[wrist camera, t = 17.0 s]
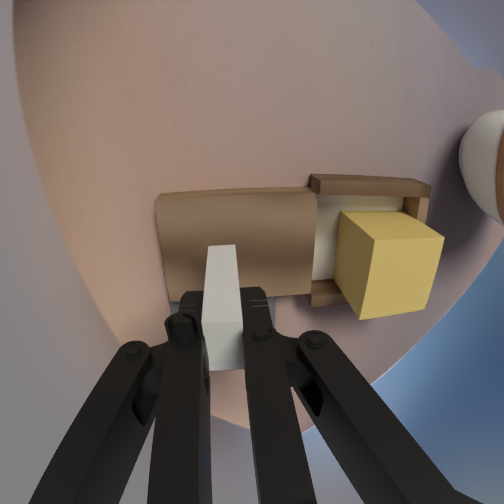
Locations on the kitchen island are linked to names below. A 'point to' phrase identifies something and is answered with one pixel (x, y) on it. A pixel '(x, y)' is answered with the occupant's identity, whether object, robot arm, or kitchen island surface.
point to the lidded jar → (485, 163)
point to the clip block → (385, 262)
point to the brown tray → (275, 231)
